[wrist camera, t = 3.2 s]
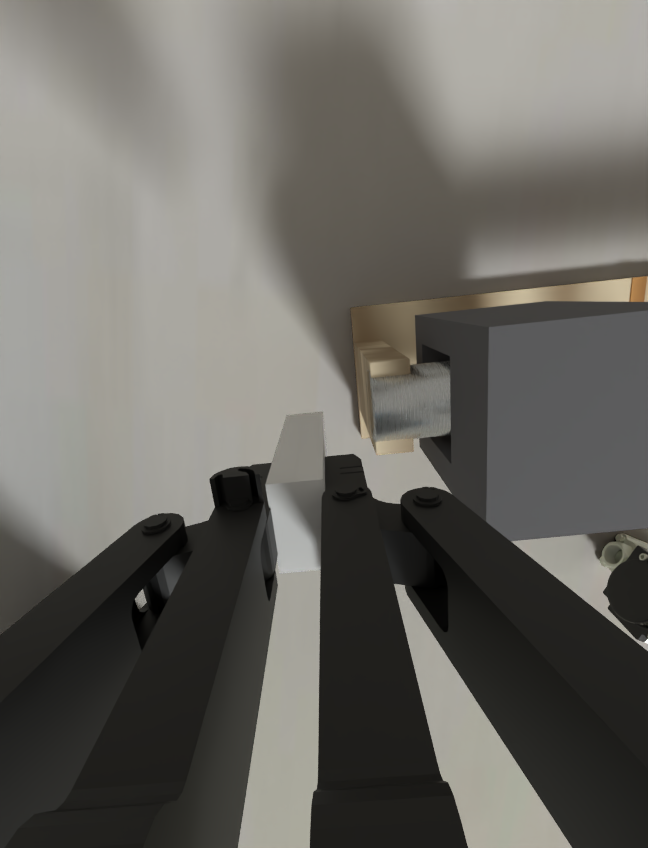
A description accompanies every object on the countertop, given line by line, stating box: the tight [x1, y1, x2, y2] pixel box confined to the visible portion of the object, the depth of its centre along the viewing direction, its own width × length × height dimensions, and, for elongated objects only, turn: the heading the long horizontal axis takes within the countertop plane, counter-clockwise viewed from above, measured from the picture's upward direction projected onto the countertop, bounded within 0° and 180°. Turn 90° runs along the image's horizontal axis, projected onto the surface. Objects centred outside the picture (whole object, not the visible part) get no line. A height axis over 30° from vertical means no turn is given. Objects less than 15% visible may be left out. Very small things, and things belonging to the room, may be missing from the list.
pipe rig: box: [350, 276, 648, 455], centre depth 26 cm, size 29×10×11 cm, turn 96°
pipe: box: [366, 361, 451, 442], centre depth 22 cm, size 29×4×4 cm, turn 96°
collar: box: [415, 301, 648, 541], centre depth 21 cm, size 8×9×12 cm
